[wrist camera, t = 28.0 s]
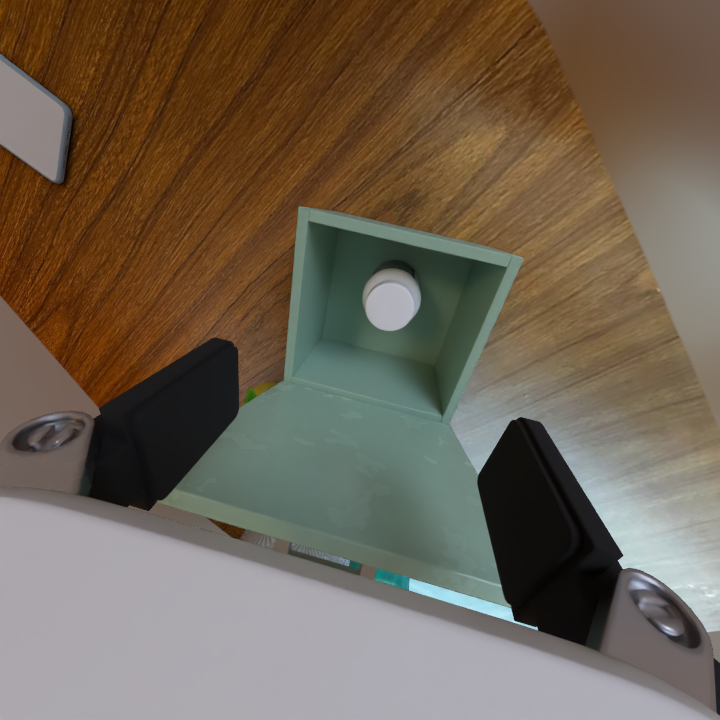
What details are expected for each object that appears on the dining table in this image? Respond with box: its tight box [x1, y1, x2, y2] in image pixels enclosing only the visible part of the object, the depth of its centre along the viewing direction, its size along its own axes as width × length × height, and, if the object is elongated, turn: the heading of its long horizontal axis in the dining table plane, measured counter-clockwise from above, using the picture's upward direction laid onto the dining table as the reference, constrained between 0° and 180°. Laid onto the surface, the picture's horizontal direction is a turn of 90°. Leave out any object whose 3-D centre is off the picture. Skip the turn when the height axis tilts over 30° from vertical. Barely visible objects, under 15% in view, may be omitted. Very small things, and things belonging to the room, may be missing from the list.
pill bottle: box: [362, 260, 421, 331], centre depth 26 cm, size 5×5×9 cm
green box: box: [283, 206, 524, 425], centre depth 27 cm, size 15×16×11 cm
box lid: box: [156, 381, 511, 608], centre depth 18 cm, size 15×16×6 cm
